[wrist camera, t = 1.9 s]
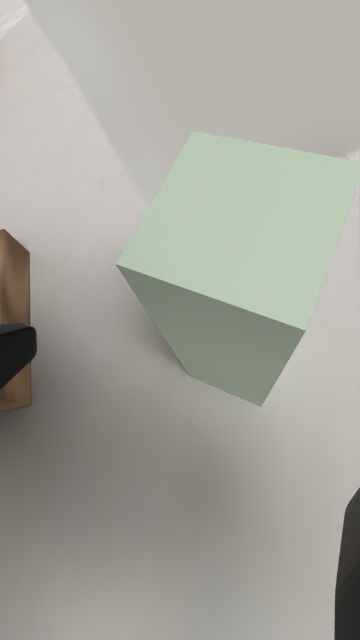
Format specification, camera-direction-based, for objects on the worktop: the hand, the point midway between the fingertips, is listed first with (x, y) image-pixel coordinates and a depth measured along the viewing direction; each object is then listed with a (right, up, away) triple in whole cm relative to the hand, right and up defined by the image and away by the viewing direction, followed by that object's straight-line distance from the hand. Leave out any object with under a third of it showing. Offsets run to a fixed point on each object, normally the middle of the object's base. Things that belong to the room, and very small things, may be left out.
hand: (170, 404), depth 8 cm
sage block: (+4, 0, +12) cm, 12 cm away
